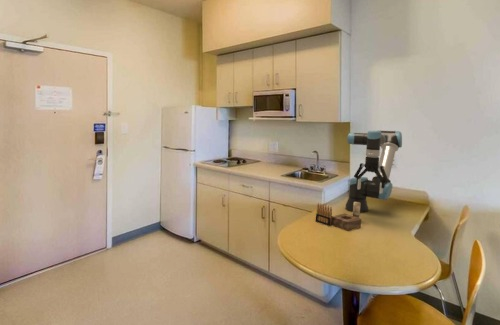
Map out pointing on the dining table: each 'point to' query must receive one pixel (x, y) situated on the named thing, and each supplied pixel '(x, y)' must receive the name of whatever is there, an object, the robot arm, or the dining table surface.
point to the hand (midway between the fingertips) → (369, 191)
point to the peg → (356, 209)
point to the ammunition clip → (324, 215)
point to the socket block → (346, 222)
